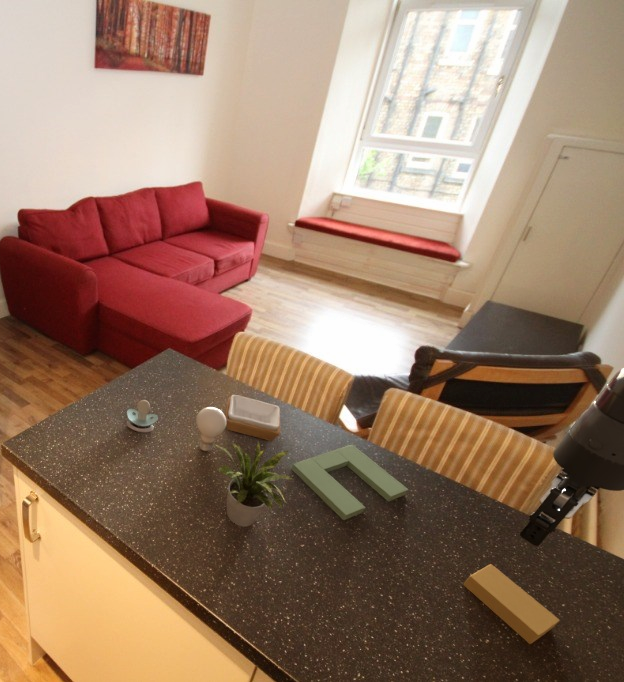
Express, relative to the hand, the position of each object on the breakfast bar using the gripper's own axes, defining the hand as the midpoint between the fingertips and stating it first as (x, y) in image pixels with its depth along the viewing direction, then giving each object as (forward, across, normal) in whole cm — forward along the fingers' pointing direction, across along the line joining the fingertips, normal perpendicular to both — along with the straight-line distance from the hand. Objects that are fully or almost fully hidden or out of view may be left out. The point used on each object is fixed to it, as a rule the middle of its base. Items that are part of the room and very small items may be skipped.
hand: (540, 527), depth 65 cm
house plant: (+18, -25, +32) cm, 44 cm away
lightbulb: (+18, -18, +48) cm, 54 cm away
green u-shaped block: (+18, +3, +26) cm, 32 cm away
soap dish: (+18, -2, +49) cm, 52 cm away
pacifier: (+18, -26, +61) cm, 69 cm away
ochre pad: (+18, +2, -3) cm, 18 cm away
